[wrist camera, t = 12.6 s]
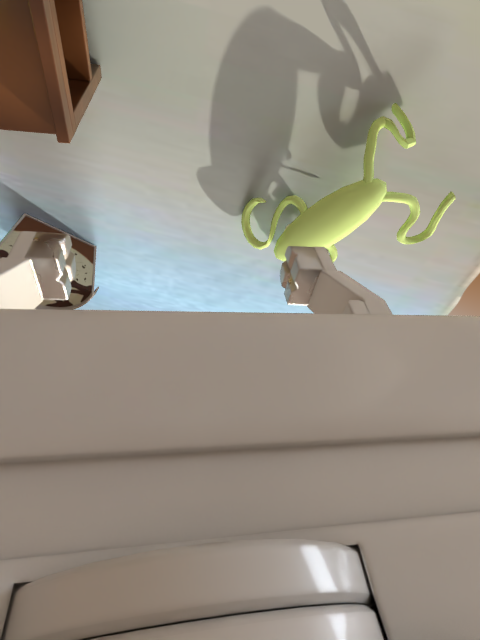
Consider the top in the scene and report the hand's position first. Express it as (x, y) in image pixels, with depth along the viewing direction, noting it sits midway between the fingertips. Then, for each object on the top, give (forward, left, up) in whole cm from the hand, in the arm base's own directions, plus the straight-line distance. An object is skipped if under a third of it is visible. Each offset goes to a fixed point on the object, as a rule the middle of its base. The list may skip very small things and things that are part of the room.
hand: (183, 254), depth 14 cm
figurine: (+14, +24, -34) cm, 44 cm away
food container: (+23, -16, -34) cm, 45 cm away
